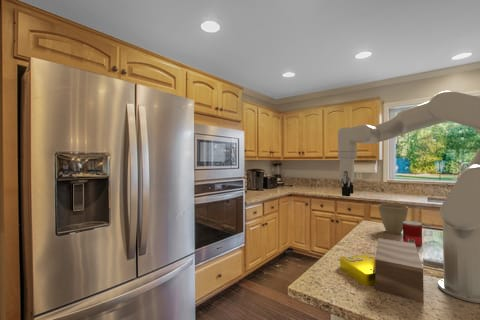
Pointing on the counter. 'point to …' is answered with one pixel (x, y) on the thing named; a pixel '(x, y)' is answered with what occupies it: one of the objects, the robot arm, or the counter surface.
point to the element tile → (360, 268)
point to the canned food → (412, 232)
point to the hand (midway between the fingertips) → (347, 194)
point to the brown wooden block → (399, 269)
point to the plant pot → (393, 217)
